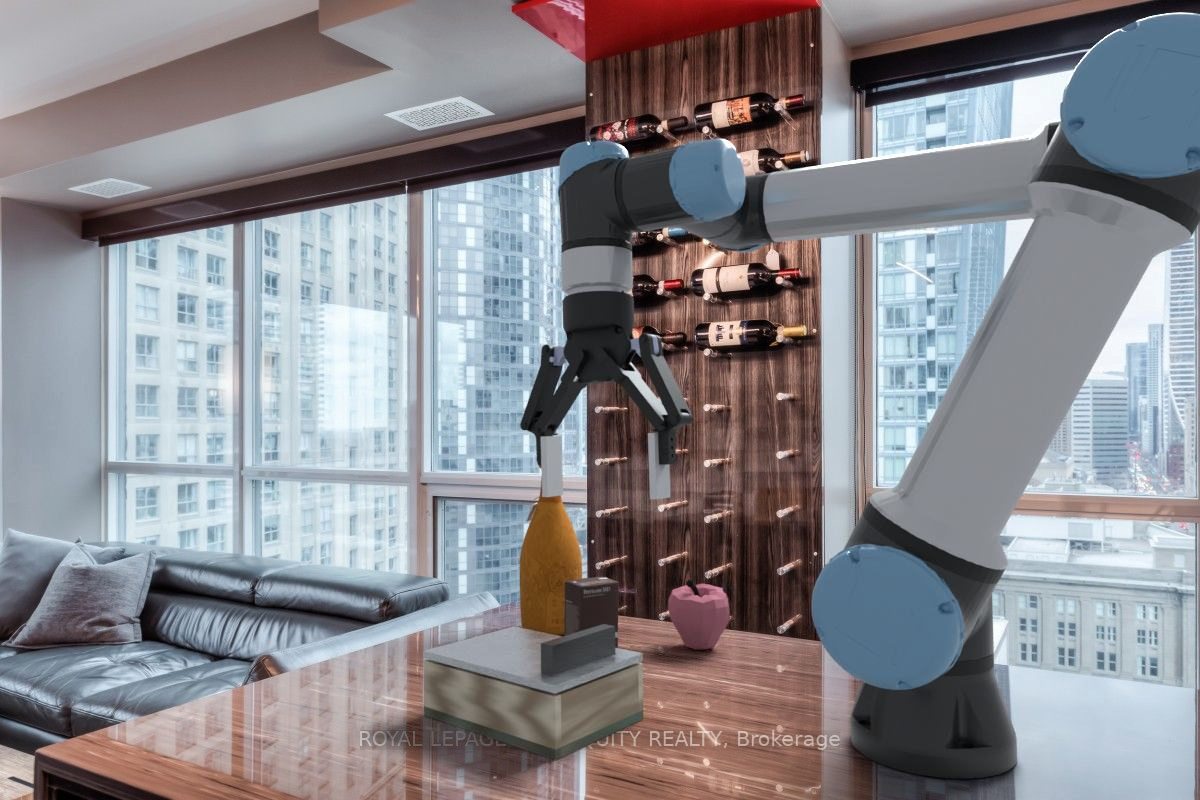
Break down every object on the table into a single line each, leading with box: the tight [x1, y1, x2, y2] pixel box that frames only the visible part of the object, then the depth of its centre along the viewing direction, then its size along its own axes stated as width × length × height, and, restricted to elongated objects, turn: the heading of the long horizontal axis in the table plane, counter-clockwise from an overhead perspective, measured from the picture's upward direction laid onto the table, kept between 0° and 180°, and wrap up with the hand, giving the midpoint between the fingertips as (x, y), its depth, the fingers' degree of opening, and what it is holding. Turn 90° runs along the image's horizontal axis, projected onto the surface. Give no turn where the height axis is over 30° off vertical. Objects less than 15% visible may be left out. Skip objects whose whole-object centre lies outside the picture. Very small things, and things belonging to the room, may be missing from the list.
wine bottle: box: [519, 465, 583, 636], centre depth 130 cm, size 10×10×30 cm
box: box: [563, 576, 620, 648], centre depth 106 cm, size 6×4×12 cm
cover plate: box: [423, 624, 644, 694], centre depth 91 cm, size 20×14×4 cm
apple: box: [667, 579, 731, 651], centre depth 118 cm, size 10×9×10 cm
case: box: [423, 659, 644, 761], centre depth 91 cm, size 20×14×6 cm
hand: (604, 497), depth 86 cm, fingers open, 13 cm apart
